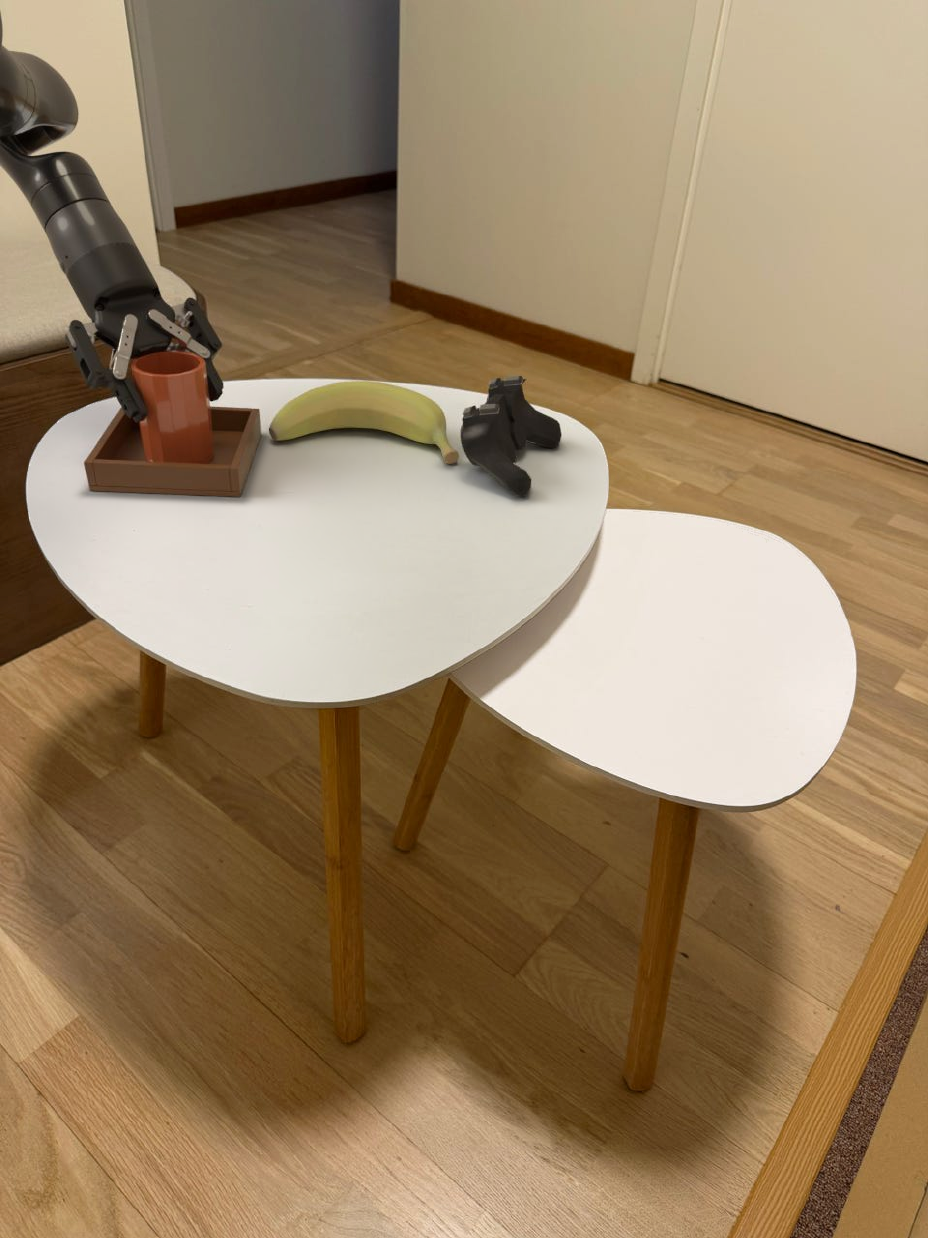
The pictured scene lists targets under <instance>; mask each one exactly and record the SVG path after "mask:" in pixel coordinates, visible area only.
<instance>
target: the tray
mask: <svg viewBox="0 0 928 1238" xmlns="http://www.w3.org/2000/svg"><path fill="white" fill-rule="evenodd" d="M210 410H211V420H212V429H213V439H214V457H213V459H212V460H211V461H210V462H209V463H207V464H191V463H169V462H147V461H146V459H145V454H144V451H143V445H142V438H141V432H140V426H139V422H135V421H134V419H133V418H129V417H128V416H127V415H126V414H125V413H124V411H123V408H122V407H121V406H120V408H119V409H118V411H117V413H116V414H115V416H114V417H113V418H112V420H111V421H110V422H109V424H108V426H107V427H106V429H105V430H104V432H103V434H101V436H100V438H99V439H98V440H97V443H96V444H95V445H94V446H93V448H92V449H91V451H90V452H89V454H88V455H87V457H86V459H85V460H84V462H83V465H84V470H85V475H86V480H87V483H88V489H89V491H90V492H112V493H113V492H114V493H137V494H159V495H160V494H161V495H184V496H209V497H231V498H232V497H234V498H240V497H241V495H242V492H243V489H244V487H245V483H246V480H247V478H248V475H249V472H250V468H251V466H252V463H253V460H254V457H255V455H256V451H257V448H258V445H259V442H260V439H261V436H262V423H261V412H260V411H261V409H260V408H251V407H228V406H211V405H210Z"/></svg>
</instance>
